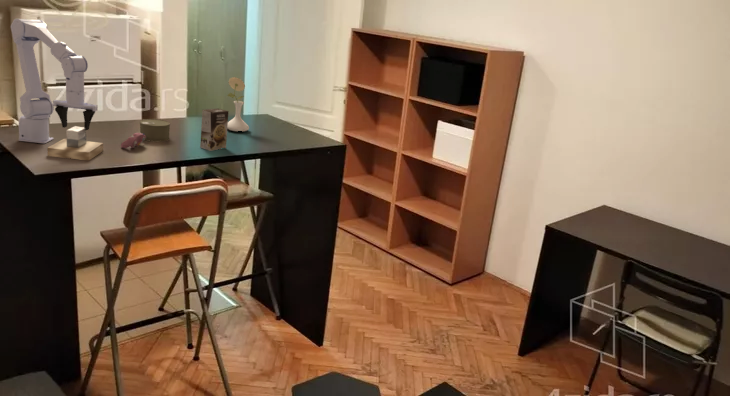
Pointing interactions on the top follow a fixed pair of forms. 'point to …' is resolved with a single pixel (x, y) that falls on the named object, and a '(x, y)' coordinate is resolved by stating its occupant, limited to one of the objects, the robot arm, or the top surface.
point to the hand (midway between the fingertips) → (75, 128)
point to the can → (155, 129)
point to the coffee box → (214, 129)
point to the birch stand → (75, 150)
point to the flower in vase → (237, 106)
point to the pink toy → (133, 140)
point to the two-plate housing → (76, 137)
